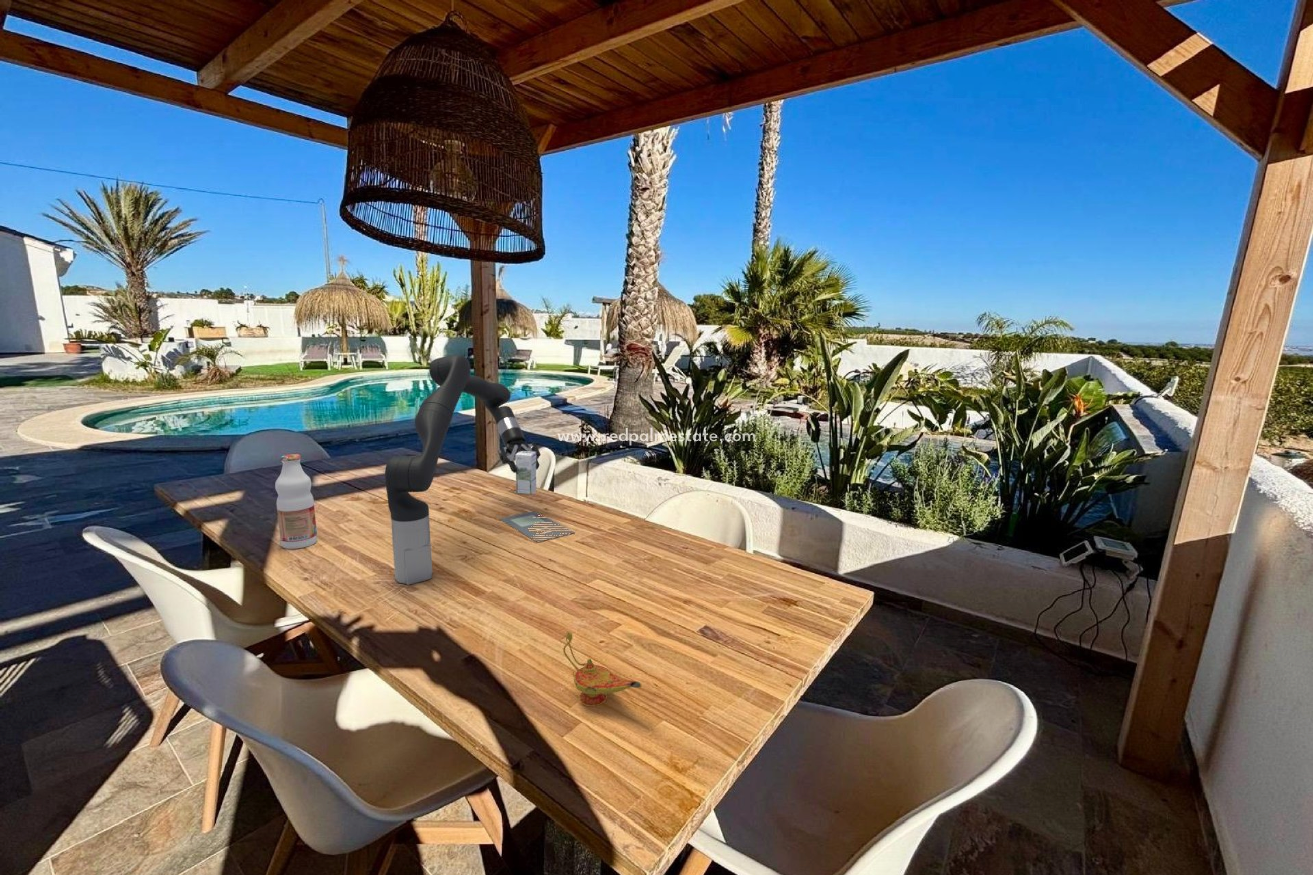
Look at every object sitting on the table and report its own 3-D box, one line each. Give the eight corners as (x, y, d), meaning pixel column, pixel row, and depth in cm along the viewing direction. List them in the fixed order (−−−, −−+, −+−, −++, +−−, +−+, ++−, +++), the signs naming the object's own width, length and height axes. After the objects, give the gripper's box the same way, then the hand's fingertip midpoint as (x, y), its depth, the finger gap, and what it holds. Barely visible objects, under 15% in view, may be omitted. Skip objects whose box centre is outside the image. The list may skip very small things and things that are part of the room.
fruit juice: (274, 546, 161) (263, 457, 156) (304, 536, 170) (296, 451, 165) (294, 551, 158) (284, 460, 152) (324, 541, 166) (316, 454, 161)
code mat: (574, 533, 178) (574, 532, 178) (537, 542, 169) (537, 542, 169) (534, 511, 199) (534, 511, 199) (499, 519, 190) (499, 518, 190)
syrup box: (537, 490, 189) (536, 451, 186) (531, 495, 183) (531, 454, 181) (521, 489, 190) (520, 450, 187) (515, 494, 184) (514, 453, 181)
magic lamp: (628, 732, 89) (629, 673, 87) (550, 691, 98) (550, 637, 96) (651, 709, 94) (652, 653, 92) (575, 673, 104) (575, 621, 102)
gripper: (495, 428, 184) (511, 467, 178) (532, 424, 193) (548, 461, 187) (489, 440, 189) (504, 478, 182) (525, 436, 198) (541, 472, 192)
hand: (526, 470), depth 185 cm, fingers closed on syrup box, 8 cm apart
